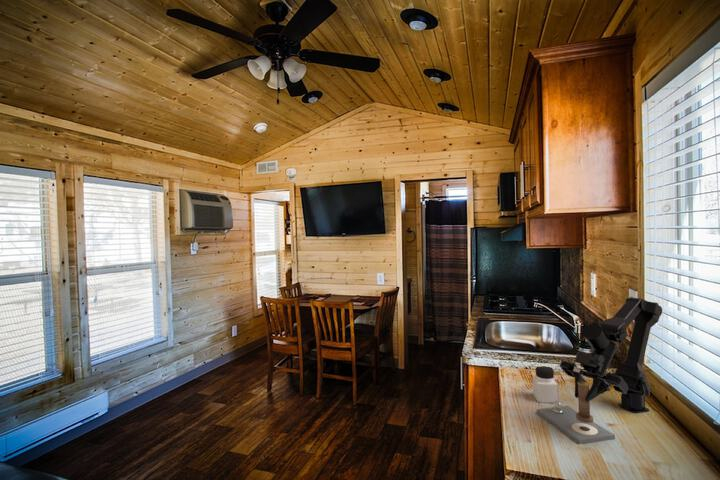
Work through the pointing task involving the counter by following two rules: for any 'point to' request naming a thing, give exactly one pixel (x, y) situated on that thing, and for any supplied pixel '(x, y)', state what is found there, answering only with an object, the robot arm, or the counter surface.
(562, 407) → the board
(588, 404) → the walnut peg
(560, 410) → the steel pin
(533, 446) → the counter surface
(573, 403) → the counter surface
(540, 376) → the medicine bottle
